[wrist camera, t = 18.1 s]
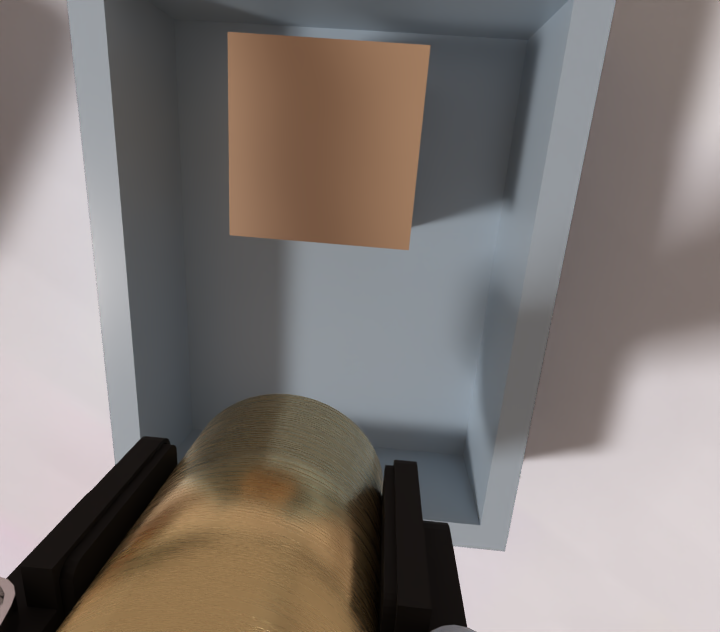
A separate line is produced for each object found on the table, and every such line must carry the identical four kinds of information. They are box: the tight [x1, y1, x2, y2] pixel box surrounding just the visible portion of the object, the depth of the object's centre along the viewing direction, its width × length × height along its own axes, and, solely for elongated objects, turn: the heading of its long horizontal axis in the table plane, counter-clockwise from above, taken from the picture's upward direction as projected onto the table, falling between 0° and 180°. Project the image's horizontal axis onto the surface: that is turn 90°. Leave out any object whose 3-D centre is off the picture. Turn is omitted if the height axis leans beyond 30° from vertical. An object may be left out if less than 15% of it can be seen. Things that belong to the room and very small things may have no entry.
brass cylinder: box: [56, 394, 383, 632], centre depth 9 cm, size 5×5×7 cm
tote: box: [67, 0, 616, 551], centre depth 16 cm, size 14×18×5 cm
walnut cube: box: [228, 32, 431, 250], centre depth 14 cm, size 5×5×5 cm
